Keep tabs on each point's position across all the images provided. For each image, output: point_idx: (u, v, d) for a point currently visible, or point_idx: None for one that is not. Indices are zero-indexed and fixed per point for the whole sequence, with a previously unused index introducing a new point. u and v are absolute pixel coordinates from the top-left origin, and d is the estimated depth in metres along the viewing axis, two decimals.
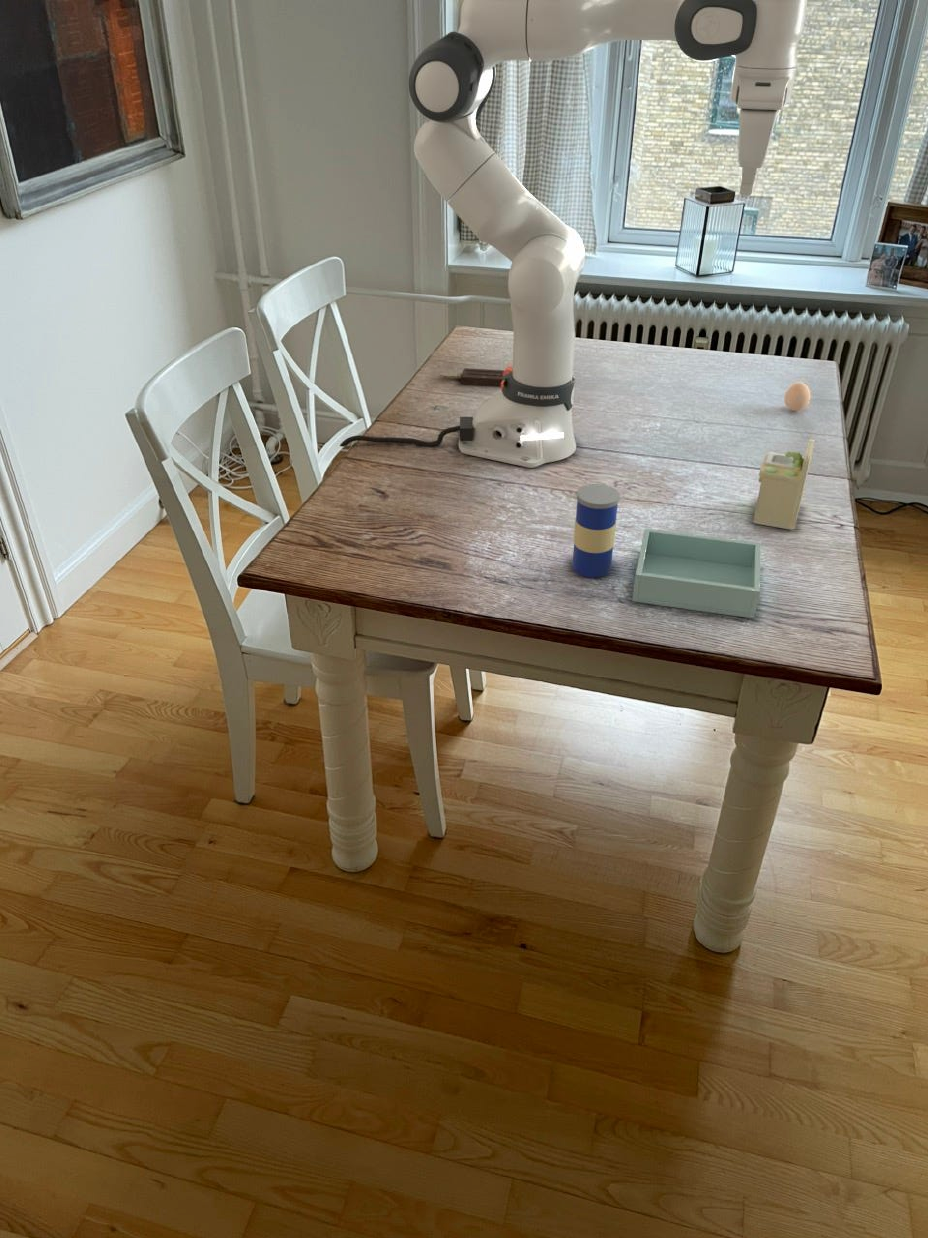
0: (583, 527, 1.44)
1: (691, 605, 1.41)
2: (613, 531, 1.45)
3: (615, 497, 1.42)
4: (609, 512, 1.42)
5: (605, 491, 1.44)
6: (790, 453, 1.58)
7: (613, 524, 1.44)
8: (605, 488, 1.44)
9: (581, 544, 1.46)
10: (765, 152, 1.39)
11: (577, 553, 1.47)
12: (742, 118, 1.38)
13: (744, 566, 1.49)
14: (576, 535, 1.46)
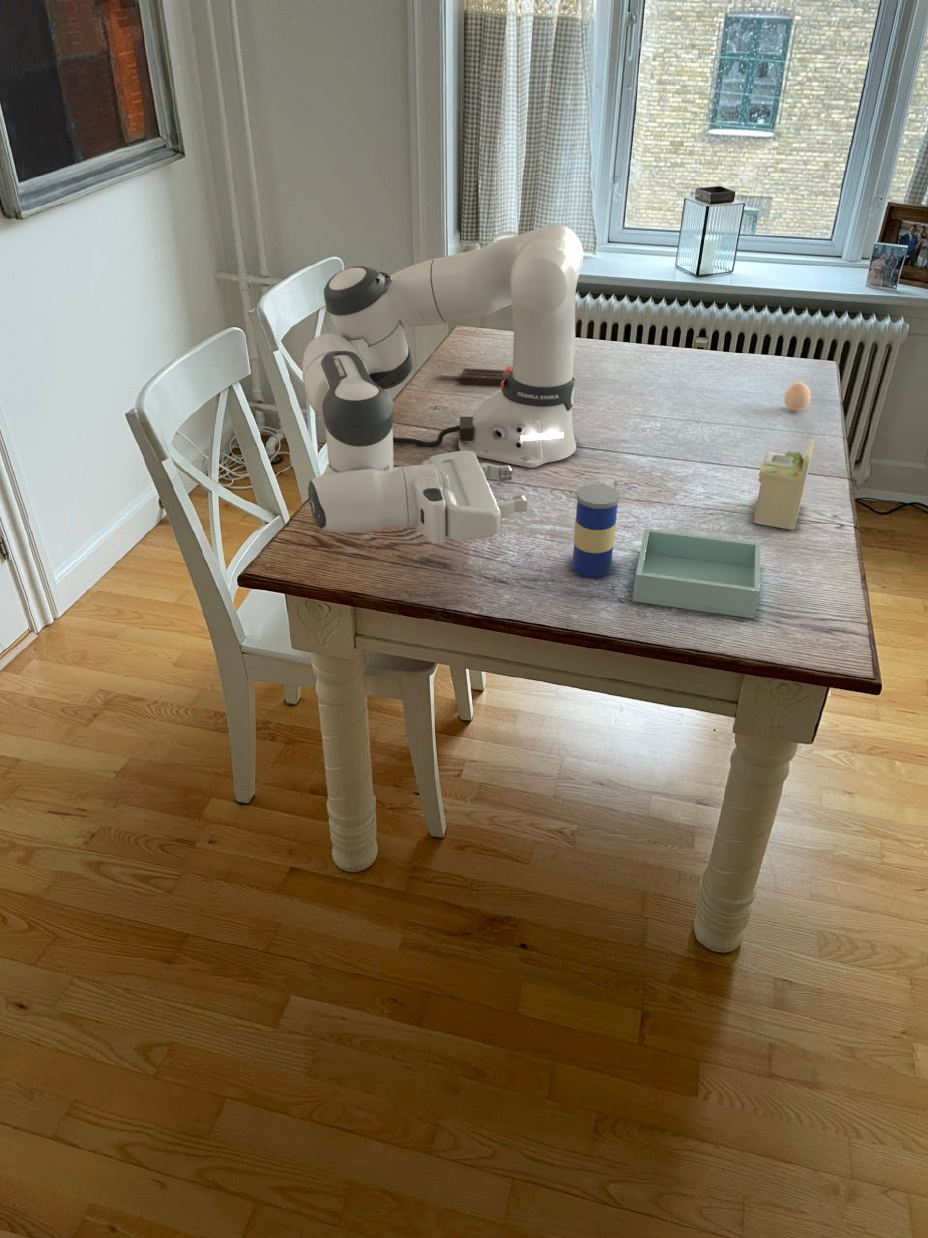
0: (583, 527, 1.44)
1: (691, 605, 1.41)
2: (613, 531, 1.45)
3: (615, 497, 1.42)
4: (609, 512, 1.42)
5: (605, 491, 1.44)
6: (790, 453, 1.58)
7: (613, 524, 1.44)
8: (605, 488, 1.44)
9: (581, 544, 1.46)
10: (486, 514, 1.30)
11: (577, 553, 1.47)
12: (455, 538, 1.32)
13: (744, 566, 1.49)
14: (576, 535, 1.46)
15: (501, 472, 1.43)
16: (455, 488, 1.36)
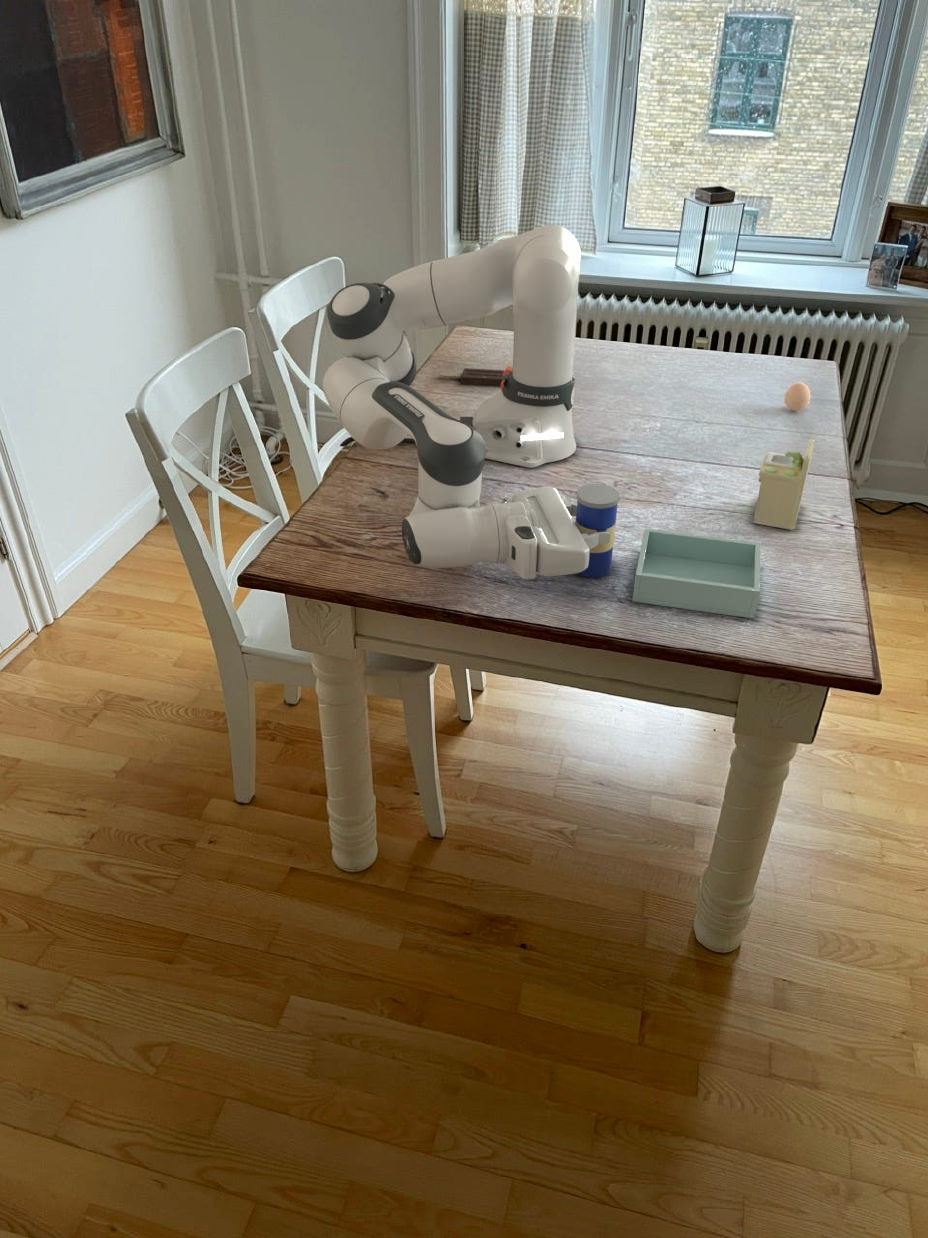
0: (583, 526, 1.44)
1: (691, 605, 1.41)
2: (613, 531, 1.45)
3: (615, 497, 1.42)
4: (609, 512, 1.42)
5: (605, 491, 1.44)
6: (790, 453, 1.58)
7: (613, 524, 1.44)
8: (604, 488, 1.44)
9: None
10: (576, 551, 1.36)
11: None
12: (545, 574, 1.39)
13: (744, 566, 1.49)
14: None
15: None
16: (542, 525, 1.43)
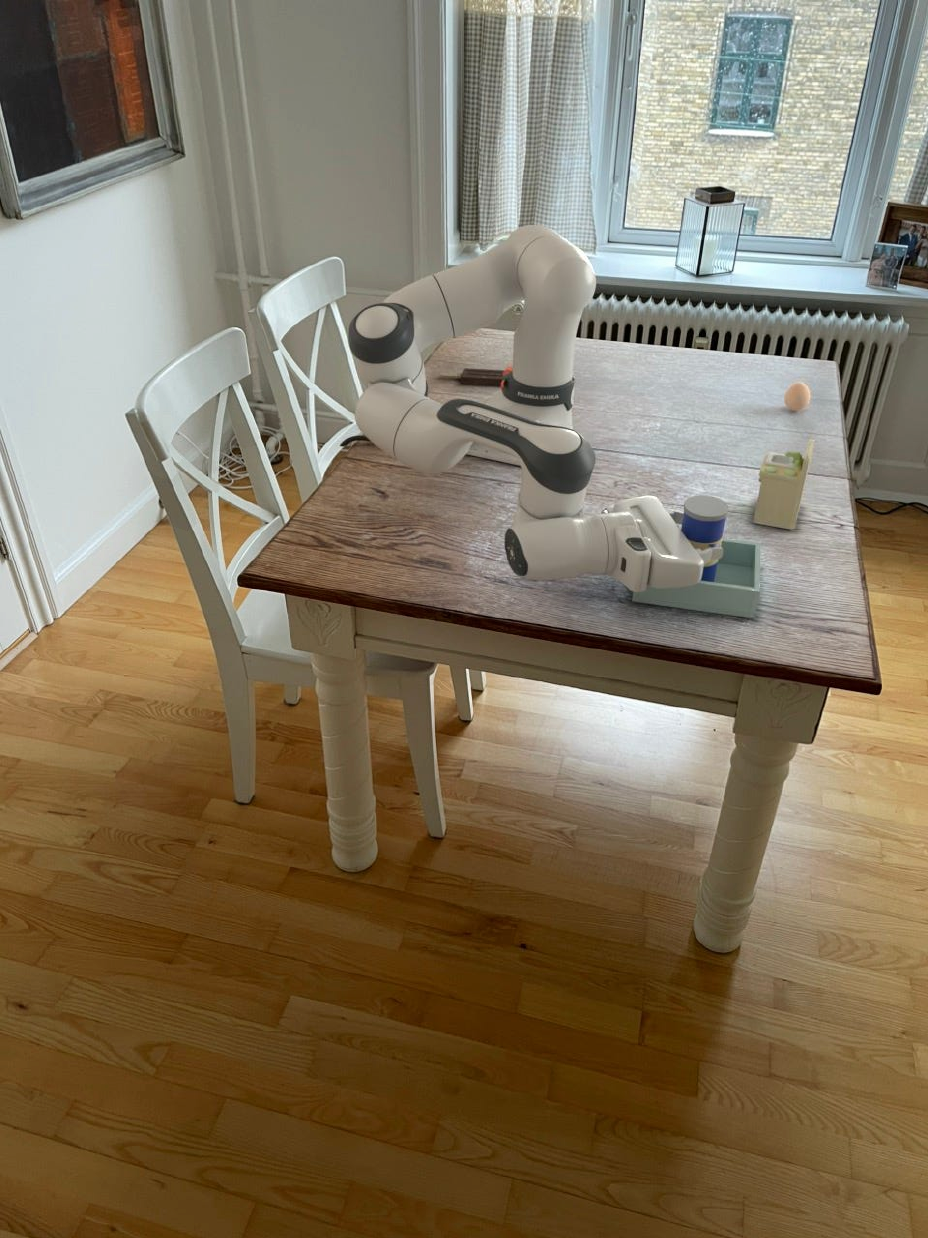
0: (689, 540, 1.39)
1: (691, 605, 1.41)
2: (720, 544, 1.40)
3: (724, 509, 1.38)
4: (718, 525, 1.37)
5: (713, 503, 1.39)
6: (790, 453, 1.58)
7: (721, 537, 1.40)
8: (712, 499, 1.40)
9: None
10: (691, 564, 1.32)
11: None
12: (656, 587, 1.34)
13: (744, 566, 1.49)
14: None
15: None
16: (650, 536, 1.38)
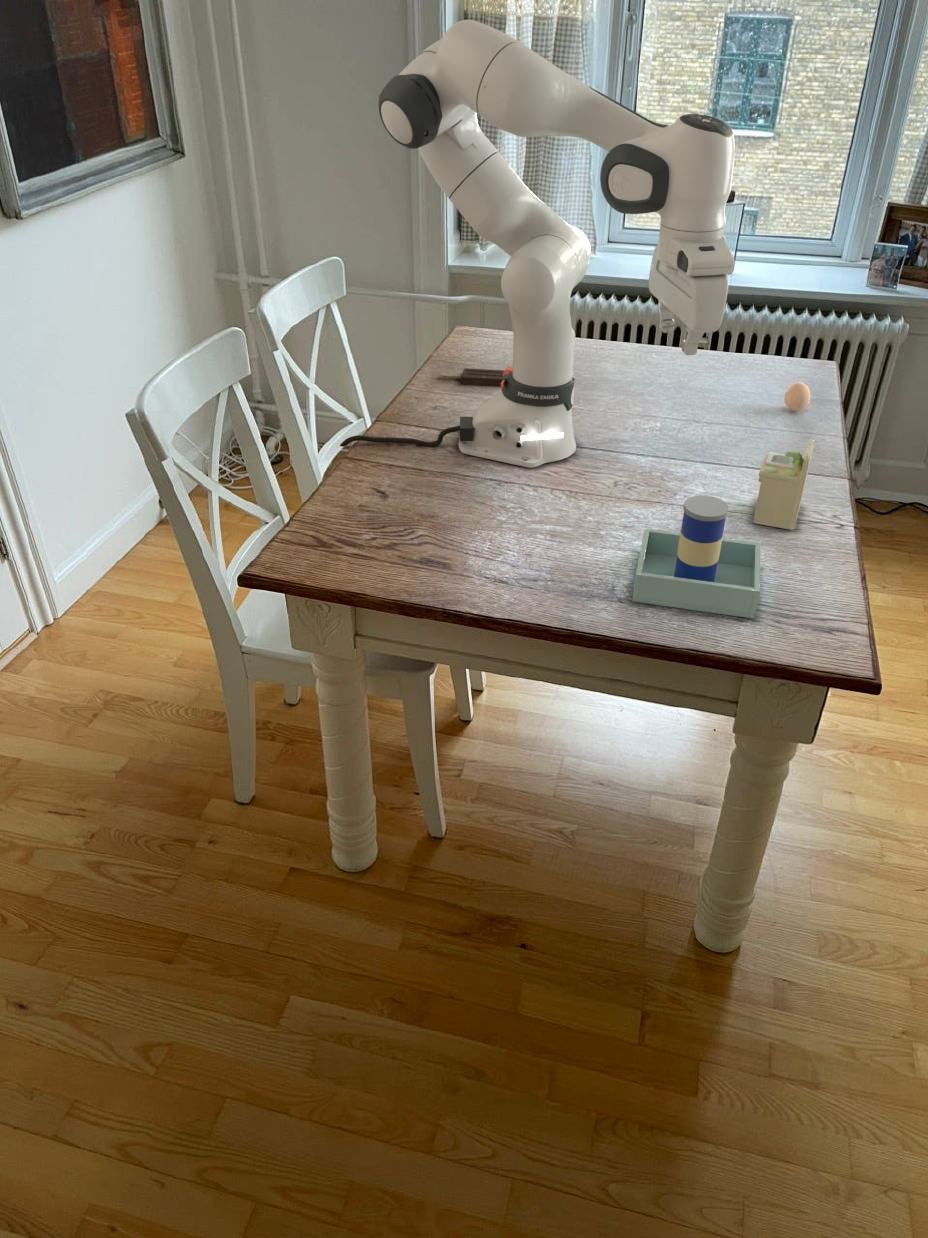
0: (689, 540, 1.39)
1: (691, 605, 1.41)
2: (720, 544, 1.40)
3: (724, 509, 1.38)
4: (718, 525, 1.37)
5: (713, 503, 1.39)
6: (790, 453, 1.58)
7: (721, 537, 1.40)
8: (712, 499, 1.40)
9: (686, 557, 1.41)
10: (722, 317, 1.32)
11: (681, 567, 1.43)
12: (696, 286, 1.29)
13: (744, 566, 1.49)
14: (681, 548, 1.42)
15: (672, 321, 1.46)
16: None
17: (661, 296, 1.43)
